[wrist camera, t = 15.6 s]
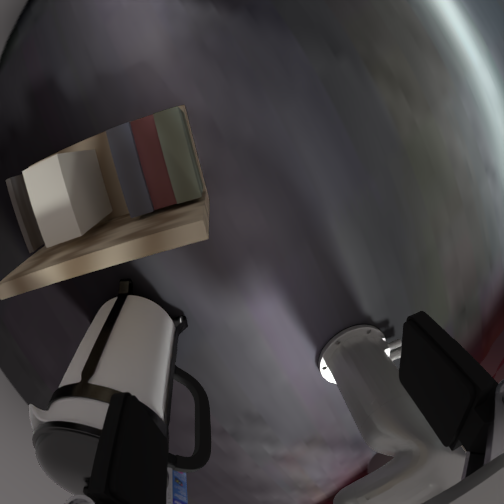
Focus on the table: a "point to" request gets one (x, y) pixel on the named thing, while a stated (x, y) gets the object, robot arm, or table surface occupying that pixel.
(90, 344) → the coffee press
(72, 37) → the table surface
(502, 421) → the robot arm
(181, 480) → the ink cartridge box
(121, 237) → the bookshelf
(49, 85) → the table surface
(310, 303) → the table surface
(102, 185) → the boxed book
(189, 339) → the table surface
